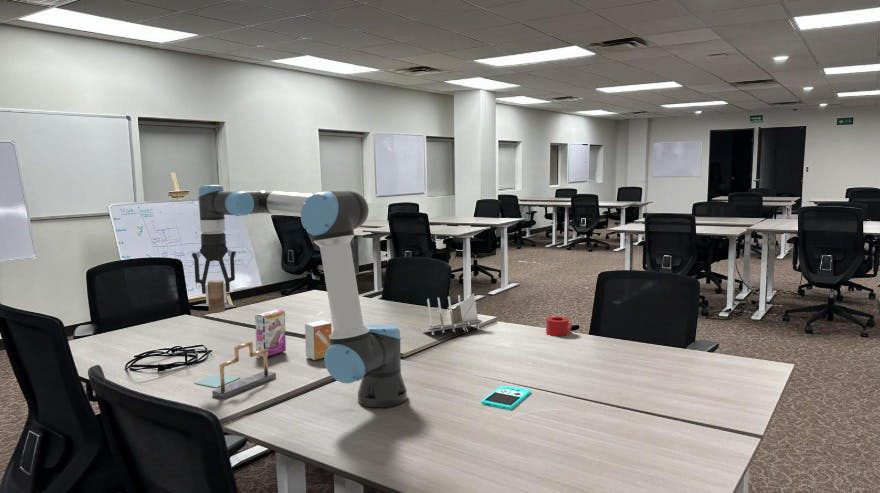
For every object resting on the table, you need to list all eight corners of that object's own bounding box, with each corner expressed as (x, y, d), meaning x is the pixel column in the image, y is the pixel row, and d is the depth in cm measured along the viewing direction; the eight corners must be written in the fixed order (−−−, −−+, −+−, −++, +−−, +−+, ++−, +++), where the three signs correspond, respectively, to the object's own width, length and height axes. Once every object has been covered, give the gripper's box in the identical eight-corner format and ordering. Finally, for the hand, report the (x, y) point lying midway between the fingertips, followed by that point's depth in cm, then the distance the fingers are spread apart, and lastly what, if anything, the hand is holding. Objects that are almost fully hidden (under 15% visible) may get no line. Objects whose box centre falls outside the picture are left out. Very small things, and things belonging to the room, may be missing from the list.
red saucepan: (563, 338, 247) (563, 322, 246) (542, 335, 252) (542, 320, 252) (579, 329, 262) (579, 314, 261) (559, 326, 267) (559, 311, 266)
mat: (239, 378, 201) (239, 377, 201) (216, 388, 192) (216, 387, 192) (218, 374, 205) (218, 373, 205) (194, 383, 196) (194, 382, 196)
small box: (314, 360, 220) (313, 326, 218) (305, 357, 224) (304, 323, 223) (332, 355, 225) (331, 322, 224) (323, 352, 230) (322, 319, 228)
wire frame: (276, 378, 201) (274, 337, 199) (223, 399, 182) (221, 354, 180) (265, 376, 203) (263, 335, 202) (212, 397, 185) (210, 351, 183)
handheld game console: (531, 393, 186) (531, 389, 185) (511, 411, 172) (511, 406, 172) (502, 388, 191) (502, 384, 190) (480, 404, 177) (480, 400, 177)
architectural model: (490, 328, 255) (484, 286, 257) (439, 336, 243) (433, 292, 246) (471, 330, 270) (465, 291, 272) (422, 338, 258) (416, 296, 261)
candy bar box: (265, 358, 223) (263, 316, 221) (256, 356, 225) (254, 314, 223) (287, 351, 232) (285, 310, 230) (277, 349, 235) (276, 308, 233)
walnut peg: (225, 312, 193) (223, 282, 192) (208, 313, 192) (207, 283, 190) (225, 309, 198) (223, 279, 197) (209, 310, 196) (207, 280, 195)
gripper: (241, 230, 198) (244, 298, 201) (184, 232, 192) (188, 302, 195) (241, 232, 191) (245, 303, 194) (182, 234, 185) (186, 307, 188)
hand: (216, 302), depth 194 cm, fingers closed on walnut peg, 5 cm apart
